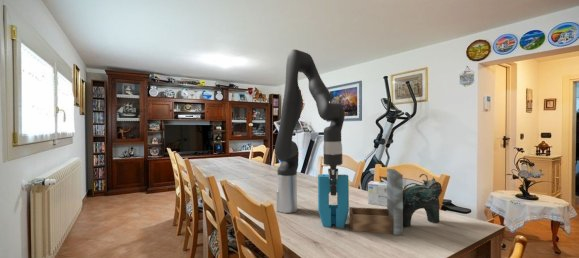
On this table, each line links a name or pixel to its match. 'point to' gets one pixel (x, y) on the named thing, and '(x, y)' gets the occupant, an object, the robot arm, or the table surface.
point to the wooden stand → (382, 210)
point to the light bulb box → (377, 193)
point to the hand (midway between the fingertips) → (333, 192)
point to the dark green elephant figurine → (421, 200)
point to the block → (339, 211)
